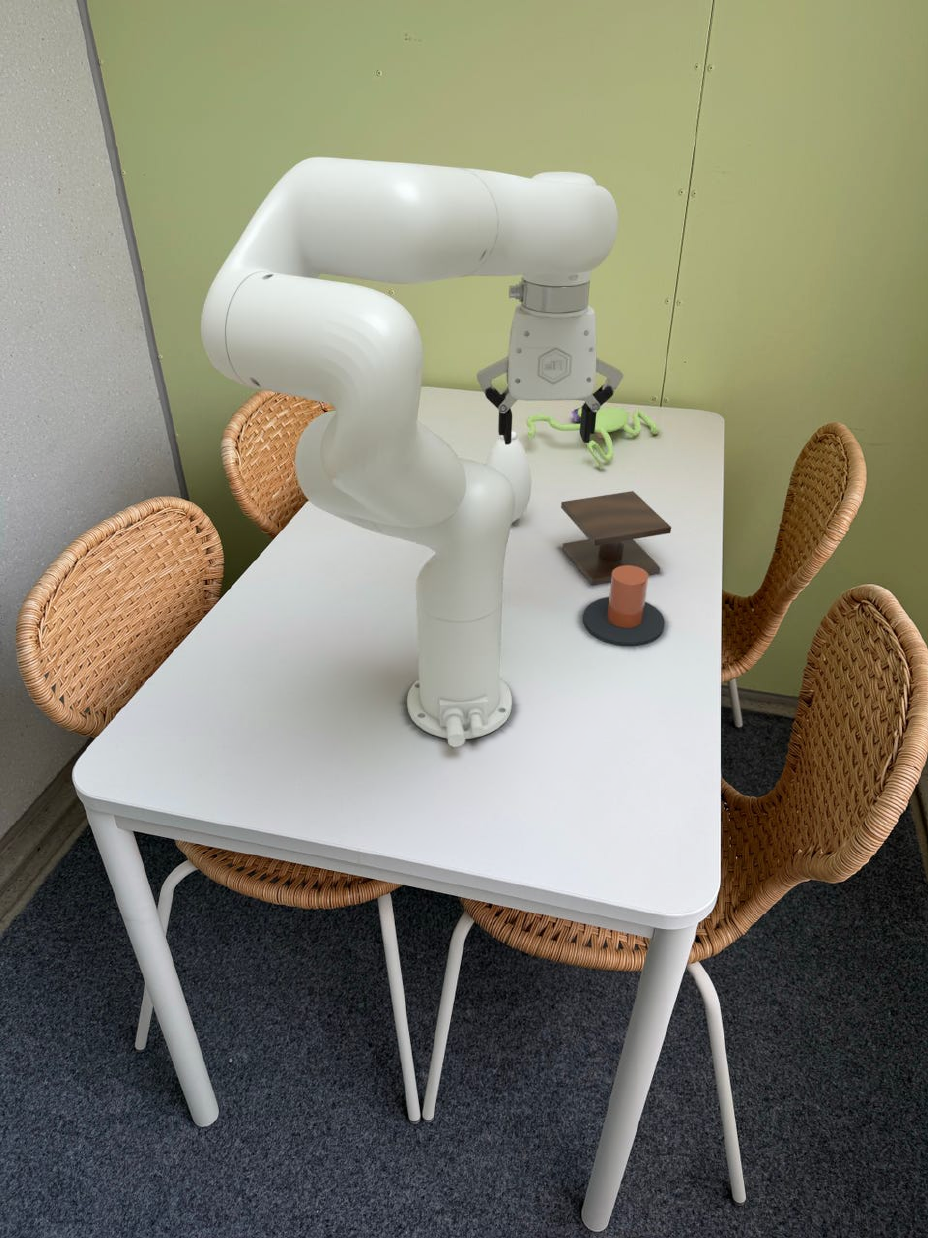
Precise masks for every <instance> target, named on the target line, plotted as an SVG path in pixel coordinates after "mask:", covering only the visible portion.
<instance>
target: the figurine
mask: <svg viewBox="0 0 928 1238" xmlns="http://www.w3.org/2000/svg"><path fill="white" fill-rule="evenodd" d="M581 410H582V406H580V407H578V408H575V409H574V410H572V411H571V414H572V417H573V420H574V422H580V421H581ZM640 420H642V421H643V422H644V423H645V424H647V426H648V427H649V428H650V432H651V433H652V434H653V435H657V434H659V433H660V429H659V427H658V425H657V424H656V422H654V420H652V419H651V418H650V417H649V416H648V415H647V414H646V413H644V412H643V411H640V410H637V411H635V412H633V414H632V421H633V425H634V428H632V427H631V426H630V425H629V424H627V423H628V422H629V421H630V414H629V412H627V410H625V409H623V408H621V407H616V406H608V407H601V408H600V410H599V411H597V414H596V424H595V433H597V434H596V436H597V438H599V439H602V438H603V439H604V442H605V446H606V451H607V453H604V451H603V450H602V448H601V446H600V444H598V443H597V442H596V441H594V440H590V442H589V443H585V444H586V448H587V450H588V451H589V453H590V454H591V455H592V457H593V459H594V460H595V461H596V463H597V465H598V467H599V469H600V470H603V466H602V462H601V461H600V459H599V457H598V456H597V454H596V452H595V450H594V449H593V447H594V448H595V449H596V450H597V452H598V454H599V456H600V458H601V459H603V460H604V461H605V462H609V461H611V460H613V457H614V454H615V453H614V445H613V442H612V437H611V436H610V434H609V433H611V432H615V431H618V430H624V432H625V433H627V434H628V435H630V436H633V437H635V436H637V435H639V433H640V431H641V421H640ZM534 422H548V424H549V426H550V427H551V428H553V429H555V430H557V431H561V432H569V431H570V432H573V431H580V423H572V424H571V423H569V424H562V423H558V422H556V421H555V419H554V417H553V416H551V415H550V414H549V415H548V414H535V415H531V416H529V417H528V418H527V419H526V420H525V423H526V426H527V427H528V428H529V430H528V433H527V435H526V436H527V438H528V439H529V440H532V439H533V438H534V436H535V435H536V432H537V431H536V425H535V423H534Z"/></svg>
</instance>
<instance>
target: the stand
mask: <svg viewBox="0 0 928 1238" xmlns="http://www.w3.org/2000/svg"><path fill="white" fill-rule="evenodd" d="M560 508H561V510H562V511H563V512H564V513H565V514H566V515H567V516H568V518H569V519H571V521H572V522H573V523H574V524H575V525H576V526H577V528H578V529H579V530H580V531H581V532H582V534H584V536H585V537H586V538H587V539H581V540H575V541H570V542H563V543H562V550H563V551H564V553H565V554H566V555H567V557H568V558H569V559H570V561H572V562H573V564H574V565H575V566H576V568H577V569H578V570H579V571H580V573H581V574H582V575H583V576H584V578H585V579H586V580H587V582H589V584H590V585H591V586H596V585H601V584H606V583H607V584H608V583H611V576H612V571H613V570H614V569H615V568H617V567H619V566H624V565H631V566H636V567H639V568H642V569H643V570H645V571H646V572H647V573H648V576H651V575H656V574H660V572H661V567H660V566H659V565H658V563H657V562H656V561H655V560H654V559H653V558H652V557H651V556H650V555H649V554H648V553H647V552H646V551H645V549H643V548H642V547H641V546H640V545H639V543H637V542H636V541H635V540H637V539H643V538H649V537H654V536H660V535H661V536H662V535H666V534H671V532H672V526H671V525H669V523H667V521H666V520H665V519H663V517H661V516H660V515H659V514H658V513H657V512H656V511H655V510H654V509H653V508H652V507H651V506H650V505H649V504H647V502H645V501H644V499H642V498H641V497H640V496H639V495H638V494H637V493H636V492H635V491H634V490H631V491H625V492H618V493H612V494H605V495H598V496H593V497H585V498H579V499H572V500H565V501H561V503H560Z"/></svg>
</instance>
